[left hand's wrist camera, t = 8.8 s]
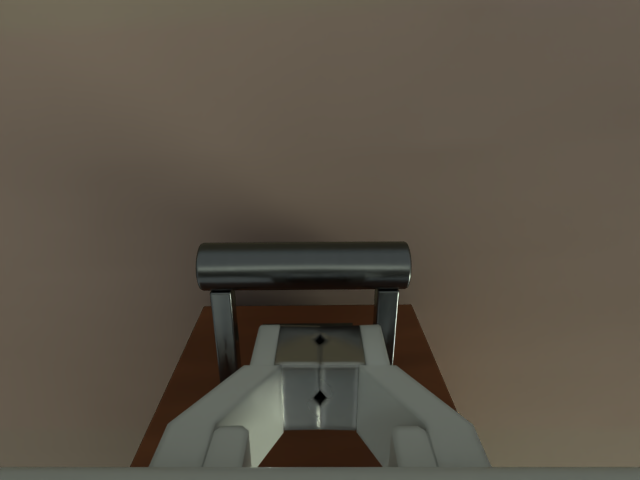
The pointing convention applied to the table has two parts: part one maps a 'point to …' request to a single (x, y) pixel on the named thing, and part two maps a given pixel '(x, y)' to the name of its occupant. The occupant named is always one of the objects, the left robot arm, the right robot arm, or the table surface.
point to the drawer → (294, 274)
